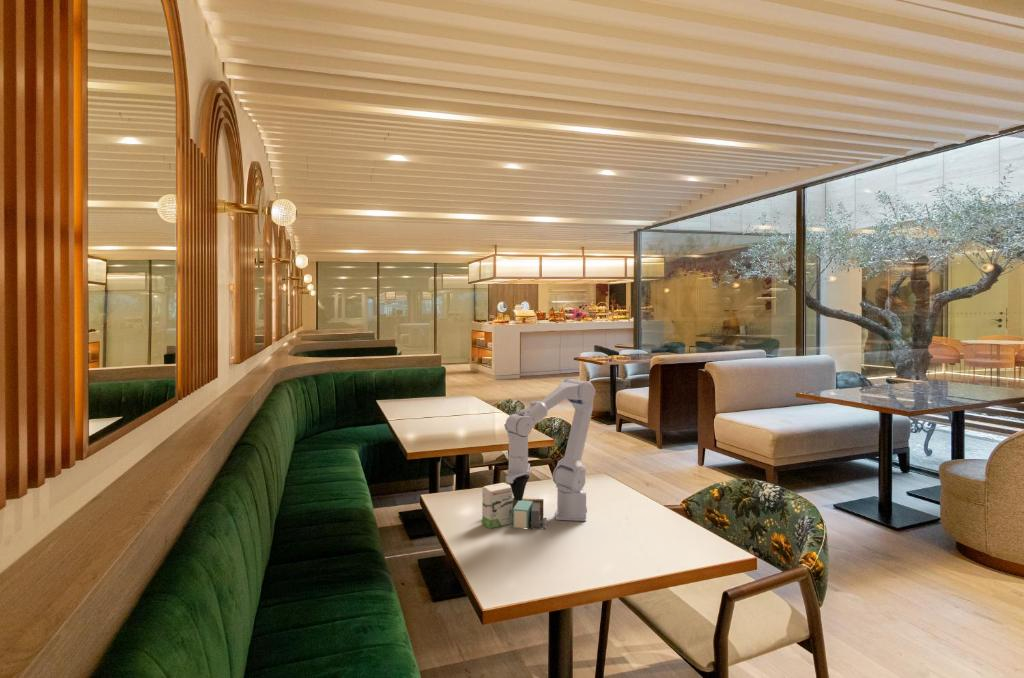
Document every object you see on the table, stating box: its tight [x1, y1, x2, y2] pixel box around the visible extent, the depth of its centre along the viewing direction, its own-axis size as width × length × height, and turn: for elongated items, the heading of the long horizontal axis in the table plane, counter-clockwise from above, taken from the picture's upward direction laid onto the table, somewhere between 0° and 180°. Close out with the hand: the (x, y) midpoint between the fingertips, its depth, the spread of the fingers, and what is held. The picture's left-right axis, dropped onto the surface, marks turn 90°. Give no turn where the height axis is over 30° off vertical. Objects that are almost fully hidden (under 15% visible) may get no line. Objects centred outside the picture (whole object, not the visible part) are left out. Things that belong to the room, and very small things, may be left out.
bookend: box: [530, 502, 547, 530], centre depth 181 cm, size 4×8×6 cm, turn 174°
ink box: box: [481, 482, 514, 529], centre depth 181 cm, size 9×5×12 cm, turn 123°
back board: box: [513, 497, 544, 518], centre depth 186 cm, size 17×1×6 cm, turn 84°
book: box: [512, 500, 533, 529], centre depth 181 cm, size 4×8×6 cm, turn 167°
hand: (518, 499), depth 174 cm, fingers closed
